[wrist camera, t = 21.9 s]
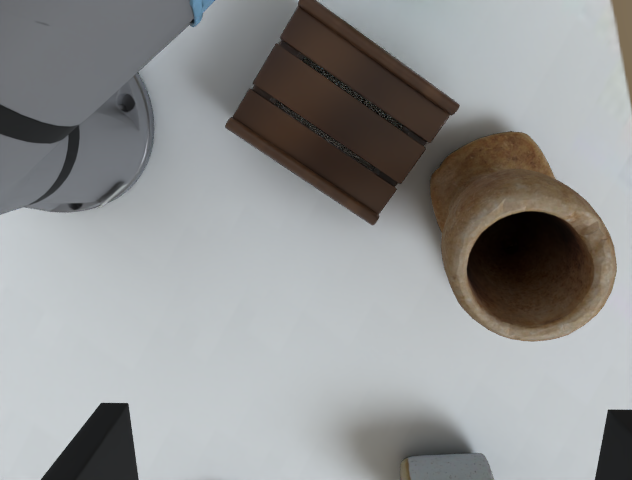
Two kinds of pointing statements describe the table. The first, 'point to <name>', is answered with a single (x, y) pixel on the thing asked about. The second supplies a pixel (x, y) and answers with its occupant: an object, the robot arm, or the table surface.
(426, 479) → the ceramic mug
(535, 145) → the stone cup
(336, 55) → the rack
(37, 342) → the table surface
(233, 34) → the table surface
